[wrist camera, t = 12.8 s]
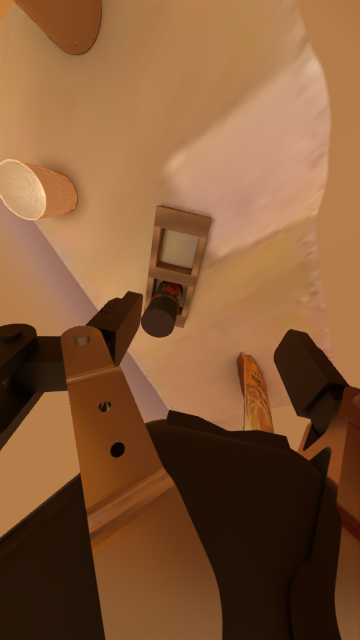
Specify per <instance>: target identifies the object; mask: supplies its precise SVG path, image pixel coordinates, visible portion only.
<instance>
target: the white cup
mask: <svg viewBox="0 0 360 640" xmlns="http://www.w3.org/2000/svg"><path fill="white" fill-rule="evenodd" d="M0 197H1V199H2V201H3V202H4V204H5V205H6V206H7V207H8V208H9V209H10V210H11V211H12V212H13V213H14V214H16V215H17V216H19V217H21V218H23V219H26V220H37V219H42V218H47V217H53V216H57V215H61V214H64V213H69V212H71V211H72V210H73V209H75V206H76V204H77V193H76V191H75V188H74V186H73V184H72V183H71V182H70V180H69V179H68V178H67V177H66V176H64V175H62V174H60V173H58V172H54V171H52V170H49V169H46V168H42V167H39V166H36V165H32V164H28V163H24V162H21V161H17V160H13V159H7V160H3V161H2V162H0Z"/></svg>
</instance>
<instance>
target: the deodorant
mask: <svg viewBox="0 0 360 640" xmlns="http://www.w3.org/2000/svg"><path fill="white" fill-rule="evenodd" d="M182 294H183V288H182V286H181V284H177V283H172V282H168V281H164V280H163V281H162V282H161V283H160V285H159V287H158V289H157V290H156V292H155V294H154V296H153V298H152V299H151V301H150V303H149V305H148V307H147V308H146V310H145V312H144V314H143V316H142V318H141V325H142V328H143V329H144V331H145V332H146V333H148V334H149V335H151V336H153V337H159V338H161V337H166V336H168V335H169V334H171V333H172V331H173V329H174V325H175V322H176V318H177V314H178V310H179V306H180V302H181V298H182Z"/></svg>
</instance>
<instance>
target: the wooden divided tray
mask: <svg viewBox="0 0 360 640" xmlns="http://www.w3.org/2000/svg"><path fill="white" fill-rule="evenodd" d="M211 220H212V219H211V217H206V216H202V215H198V214H194V213H190V212H186V211H181V210H177V209H173V208H169V207H165V206H157V207H156V215H155V223H154V232H153V240H152V249H151V257H150V266H149V274H148V283H147V291H146V299H145V308H144V312H145V310H146V308H147V307H148V305H149V303H150V301H151V299H152V298H153V296H154V294H155V288H156V281H157V279H159V280H164V281H168V282H172V283H177V284H181V285H185V286H188V288H187V293H186V297H185V301H184V305H183V308H182V307H179V310H178V314H177V318H176V322H175V325H174V326H177V327H181V328H184V324H185V320H186V317H187V313H188V309H189V305H190V301H191V297H192V293H193V290H194V286H195V282H196V278H197V274H198V270H199V266H200V262H201V259H202V255H203V251H204V247H205V243H206V239H207V235H208V232H209V228H210V224H211ZM164 229H169V230H173V231H177V232H181V233H186V234H190V235H194V236H198V237H200V238H199V243H198V247H197V251H196V255H195V259H194V263H193V268H192V269H189V268H184V267H180V266H176V265H172V264H167V263H163V262H159V261H160V254H161V247H162V240H163V233H164Z"/></svg>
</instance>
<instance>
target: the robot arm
mask: <svg viewBox="0 0 360 640" xmlns="http://www.w3.org/2000/svg"><path fill="white" fill-rule="evenodd" d="M14 1H15V3H16V4H17V5H18V6H19V7H20V8H21V9H22V10H23V11H24V12H25V13H26V14H27V15H28V16H29V17H30V18H31V19H32V20H33V21H34V22H35V23H36V24H37V25H38V26H39V28H40V29H41V30H42V31H43V32H44V33H45V34H46V35H47V36H48V37H49V38H50V39H51V40H52V41H53V42H54V43H55V44H56V45H57V46H58V47H59V48H61V49H62V50H63V51H65V52H67V53H70V54H76V55H78V54H81V53H84V52H85V51H87V50H88V49H89V48H90V47H91V46H92V44H93V43H94V41H95V39H96V37H97V34H98V30H99V27H100V19H101V1H100V0H14ZM142 302H143V294H140V293H135V292H131V291H128V292H127V293H126V294H125V296H124V297H123V298H122V299H121V298H115V299H112V300H110V301H108V302H107V303H106V304H105V305H104V307H102V309H101V310H100V311H99V312H98V313H97V314H96V315H95V316H94V317H93V318H92V319H91V320H90V321H89V322H88V323H87V324H86V325H85V326H77V327H73V328H70V329H68V330H67V331H65V332H64V333H63V334H62V336H37V333H36V330H35V328H34V327H32V326H30V325H27V324H9V325H4V326H1V327H0V450H1V449H2V448H3V446H4V445H5V444H6V443H7V441H8V440H9V438H10V437H11V436H12V434H13V433H14V432H15V431H16V429H17V428H18V427H19V425H20V424H21V423H22V421H23V420H24V419H25V417H26V416H27V415H28V413H29V412H30V411H31V409H32V408H33V407H34V405H35V404H36V403H37V401H38V400H39V399H40V397H41V396H42V395H43V393H44V392H52V391H68V394H69V401H70V406H71V414H72V420H73V427H74V433H75V440H76V447H77V453H78V459H79V466H80V473H79V474H78V475H76V476H75V477H74V478H73V479H72V480H70V481H69V482H68V483H67V484H65V485H64V486H63V487H62V488H61V489H59V490H58V491H57V492H56V493H54V494H53V495H52V496H51V497H49V498H48V499H47V500H46V501H45V502H43V503H42V504H41V505H40V506H38V507H37V508H36V509H35V510H33V511H32V512H31V513H30V514H29V515H27V516H26V517H25V518H24V519H22V520H21V521H20V522H19V523H18V524H16V525H15V526H14V527H13V528H11V529H10V530H9V531H8V532H7V533H5V534H4V535H3V536H2V537H0V640H360V389H359V388H356V387H352V386H349V384H348V383H347V382H346V381H345V379H344V378H343V377H342V376H341V374H340V373H339V372H338V370H337V369H336V368H335V367H334V366H333V364H332V363H331V361H330V360H328V357H327V356H326V355H325V354H324V352H323V351H322V350H321V349H320V348H318V347H317V346H316V344H315V343H314V342H313V340H312V339H311V338H310V337H309V335H308V334H307V333H305V332H301V331H297V330H293V329H290V330H289V331H287V333H286V334H285V336H284V337H283V339H282V341H281V342H280V344H279V346H278V347H277V349H276V351H275V353H274V362H275V365H276V367H277V369H278V372H279V374H280V377H281V379H282V381H283V384H284V386H285V388H286V391H287V393H288V395H289V398H290V400H291V402H292V405H293V407H294V409H295V412H296V414H297V416H300V417H305V418H309V419H311V422H310V423H309V424H308V425H307V427H306V429H305V432H304V435H303V438H302V440H301V443H300V446H299V448H298V452H296V451H294V450H292V449H291V448H290V446H289V443H288V440H287V437H286V436H283V435H278V434H274V433H269V432H265V431H261V430H245V431H227V430H225V429H223V428H221V427H219V426H217V425H215V424H213V423H211V422H209V421H207V420H204V419H202V418H200V417H198V416H194V415H190V414H185V413H181V412H177V411H172V410H169V412H168V415H167V419H161V420H154V421H151V422H147V423H144V421H143V419H142V416H141V414H140V411H139V409H138V407H137V404H136V402H135V399H134V397H133V395H132V392H131V390H130V388H129V385H128V383H127V381H126V378H125V376H124V373H123V371H122V369H121V367H120V366H119V365H120V362H121V361H122V359H123V357H124V355H125V353H126V351H127V349H128V347H129V345H130V344H131V342H132V340H133V338H134V336H135V334H136V332H137V330H138V328H139V325H140V320H141V311H142Z"/></svg>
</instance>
